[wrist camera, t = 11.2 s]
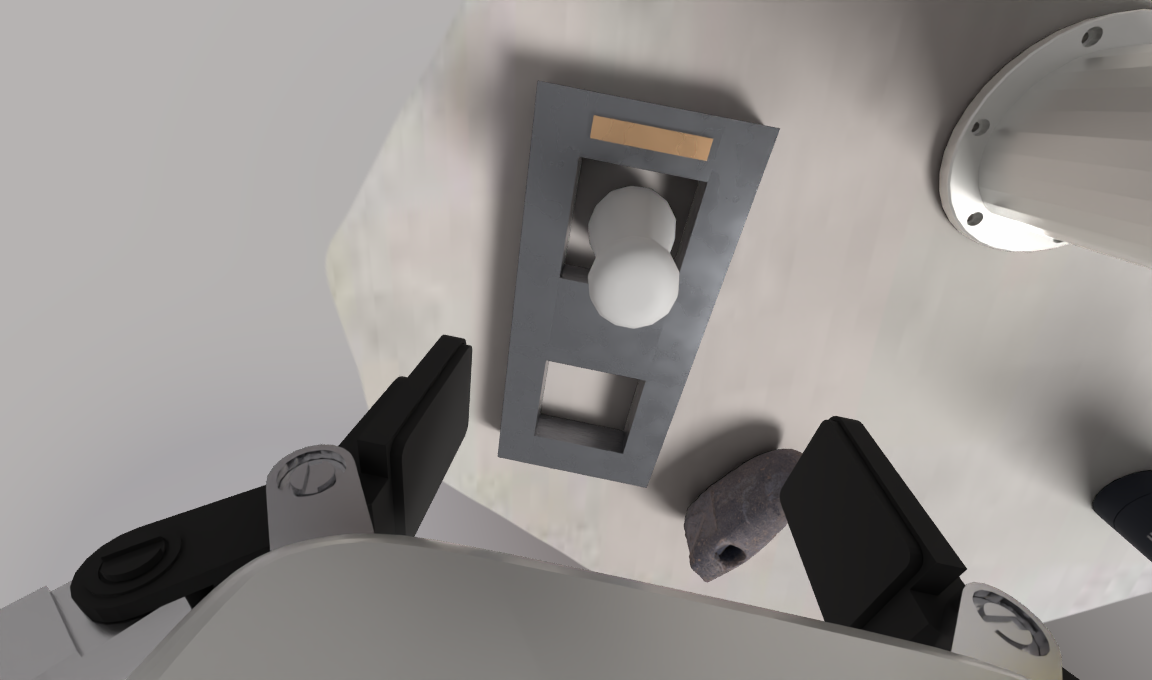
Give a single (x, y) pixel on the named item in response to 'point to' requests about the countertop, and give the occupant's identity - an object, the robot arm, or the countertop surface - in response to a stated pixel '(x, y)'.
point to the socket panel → (561, 292)
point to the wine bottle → (1129, 509)
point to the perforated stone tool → (738, 514)
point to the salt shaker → (633, 257)
